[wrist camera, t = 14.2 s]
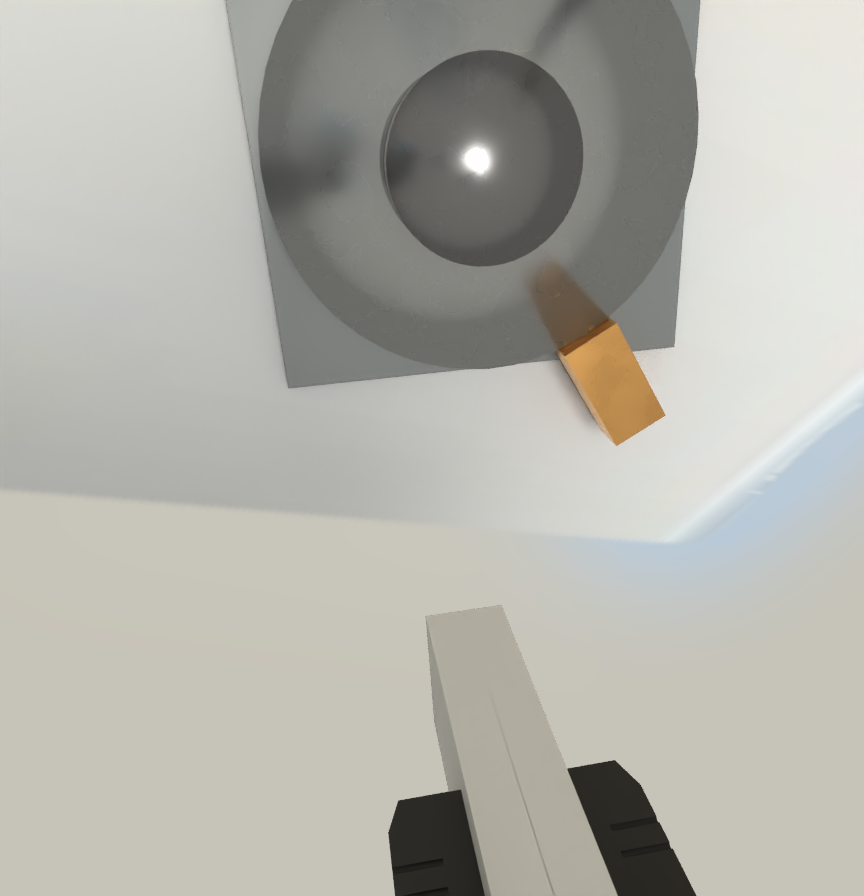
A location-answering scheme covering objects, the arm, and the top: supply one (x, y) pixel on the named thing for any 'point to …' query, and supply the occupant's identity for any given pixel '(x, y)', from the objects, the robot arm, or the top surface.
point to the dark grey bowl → (482, 157)
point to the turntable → (517, 282)
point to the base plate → (317, 328)
